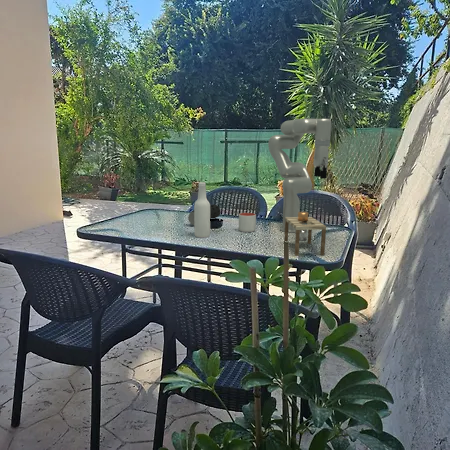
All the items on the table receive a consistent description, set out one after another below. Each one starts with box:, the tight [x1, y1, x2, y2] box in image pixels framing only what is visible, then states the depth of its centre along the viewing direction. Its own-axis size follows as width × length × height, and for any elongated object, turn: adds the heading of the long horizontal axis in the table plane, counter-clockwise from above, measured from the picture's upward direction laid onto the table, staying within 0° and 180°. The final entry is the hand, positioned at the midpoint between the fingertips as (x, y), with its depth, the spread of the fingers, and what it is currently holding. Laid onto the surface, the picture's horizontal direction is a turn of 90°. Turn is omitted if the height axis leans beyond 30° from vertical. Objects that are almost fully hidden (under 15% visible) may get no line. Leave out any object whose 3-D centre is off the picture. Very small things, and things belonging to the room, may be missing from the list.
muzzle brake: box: [187, 204, 221, 226], centre depth 256 cm, size 10×28×10 cm, turn 154°
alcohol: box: [193, 181, 211, 239], centre depth 220 cm, size 9×9×30 cm
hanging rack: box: [283, 216, 327, 257], centre depth 197 cm, size 22×14×14 cm, turn 5°
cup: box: [238, 212, 257, 233], centre depth 235 cm, size 10×10×10 cm
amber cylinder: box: [298, 211, 309, 242], centre depth 199 cm, size 5×5×14 cm
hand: (320, 177), depth 207 cm, fingers open, 9 cm apart
